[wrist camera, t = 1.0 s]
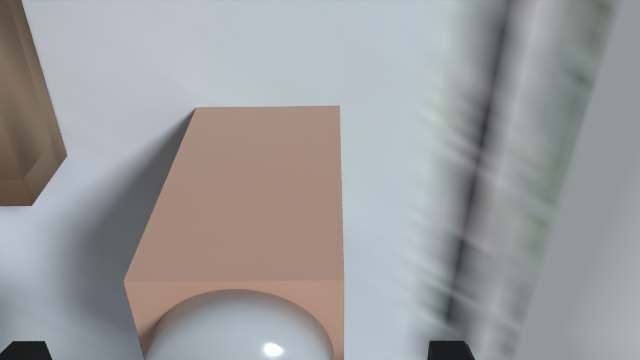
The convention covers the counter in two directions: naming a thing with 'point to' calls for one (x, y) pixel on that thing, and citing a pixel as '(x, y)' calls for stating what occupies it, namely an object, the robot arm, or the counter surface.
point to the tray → (24, 114)
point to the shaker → (246, 241)
